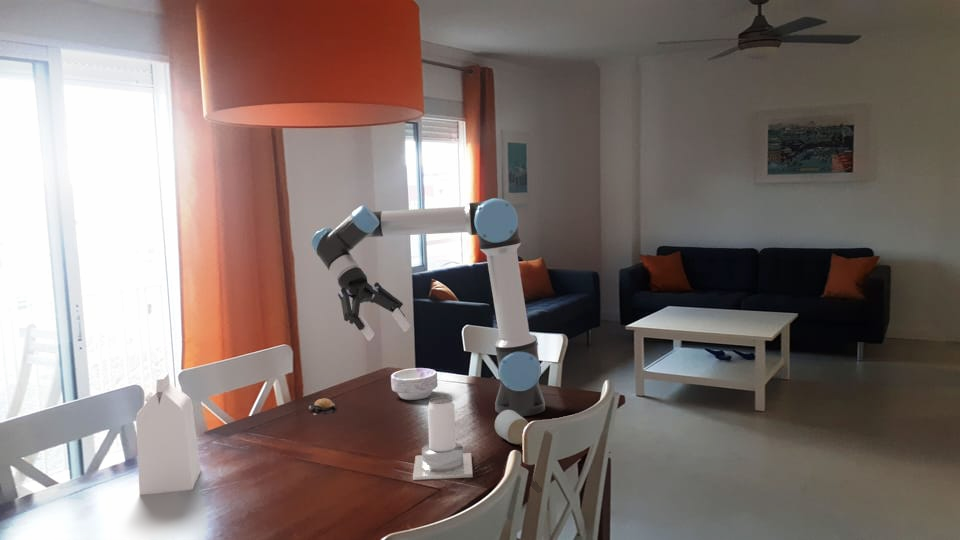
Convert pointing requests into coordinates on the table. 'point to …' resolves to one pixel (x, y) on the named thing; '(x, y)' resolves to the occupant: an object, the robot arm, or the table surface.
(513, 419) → the ceramic mug
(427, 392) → the white bowl
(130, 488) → the table surface
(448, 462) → the duct collar
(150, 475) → the milk
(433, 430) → the can
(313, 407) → the toy turtle
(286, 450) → the table surface
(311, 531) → the table surface
